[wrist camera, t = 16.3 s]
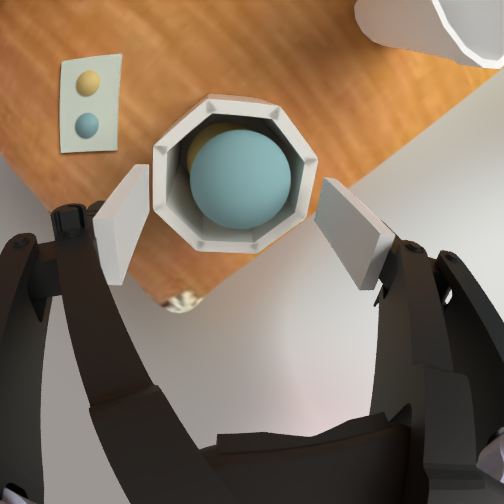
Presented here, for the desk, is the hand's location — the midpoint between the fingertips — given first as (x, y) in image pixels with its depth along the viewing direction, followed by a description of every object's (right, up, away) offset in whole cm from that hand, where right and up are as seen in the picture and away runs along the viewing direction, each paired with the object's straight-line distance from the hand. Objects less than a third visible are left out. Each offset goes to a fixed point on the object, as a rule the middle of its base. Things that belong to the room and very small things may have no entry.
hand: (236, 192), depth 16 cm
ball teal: (-1, +2, +4) cm, 5 cm away
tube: (-1, +6, +10) cm, 12 cm away
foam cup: (+13, +19, +4) cm, 24 cm away
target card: (-14, +10, +5) cm, 18 cm away
